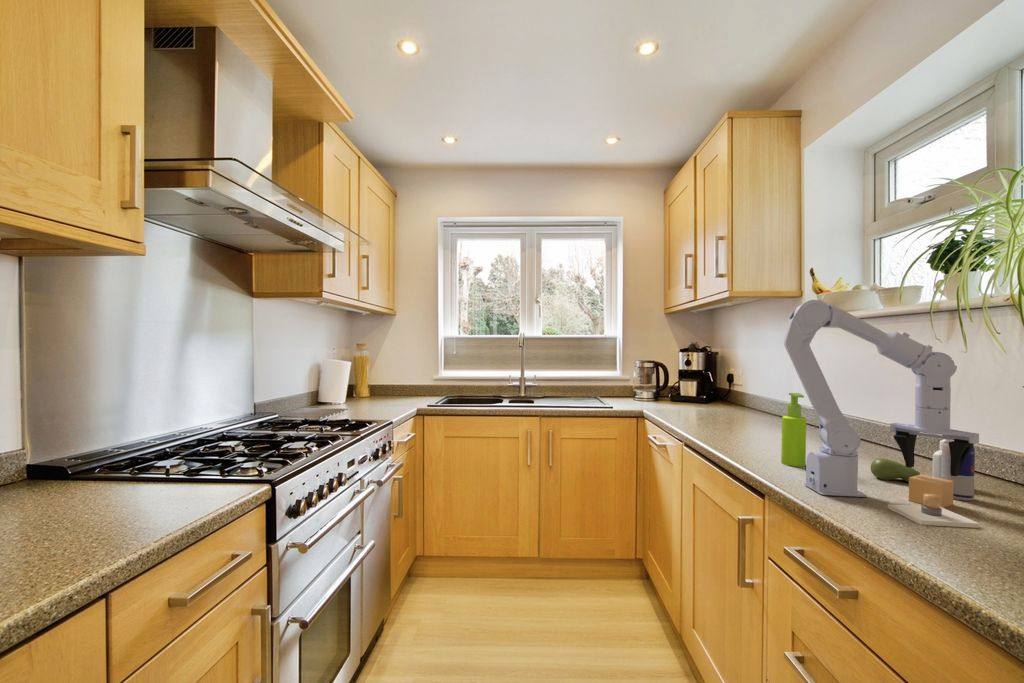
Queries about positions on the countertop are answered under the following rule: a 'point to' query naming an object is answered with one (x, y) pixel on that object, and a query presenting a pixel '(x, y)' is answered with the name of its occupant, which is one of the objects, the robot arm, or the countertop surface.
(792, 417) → the soap dispenser
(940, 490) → the cardboard-colored cube
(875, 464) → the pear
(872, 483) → the countertop surface
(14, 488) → the countertop surface
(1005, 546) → the countertop surface
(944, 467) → the energy drink
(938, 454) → the white plastic bottle
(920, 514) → the plate
